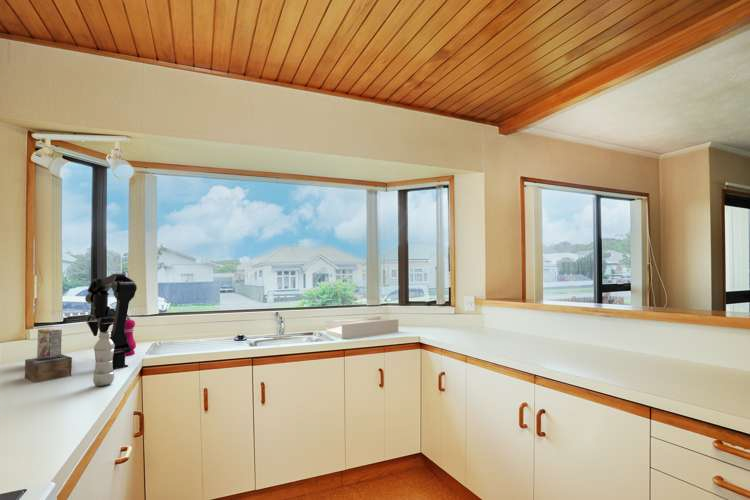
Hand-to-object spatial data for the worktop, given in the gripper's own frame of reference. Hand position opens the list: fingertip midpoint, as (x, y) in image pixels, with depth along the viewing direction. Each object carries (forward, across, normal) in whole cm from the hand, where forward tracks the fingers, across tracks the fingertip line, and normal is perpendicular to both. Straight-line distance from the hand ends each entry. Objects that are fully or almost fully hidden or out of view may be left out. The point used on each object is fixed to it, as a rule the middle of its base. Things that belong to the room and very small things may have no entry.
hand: (99, 336), depth 186 cm
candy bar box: (+12, +15, +15) cm, 24 cm away
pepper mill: (+12, +5, -15) cm, 20 cm away
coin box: (+12, -13, +23) cm, 29 cm away
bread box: (+13, -60, -136) cm, 149 cm away
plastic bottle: (+12, -47, +16) cm, 51 cm away
